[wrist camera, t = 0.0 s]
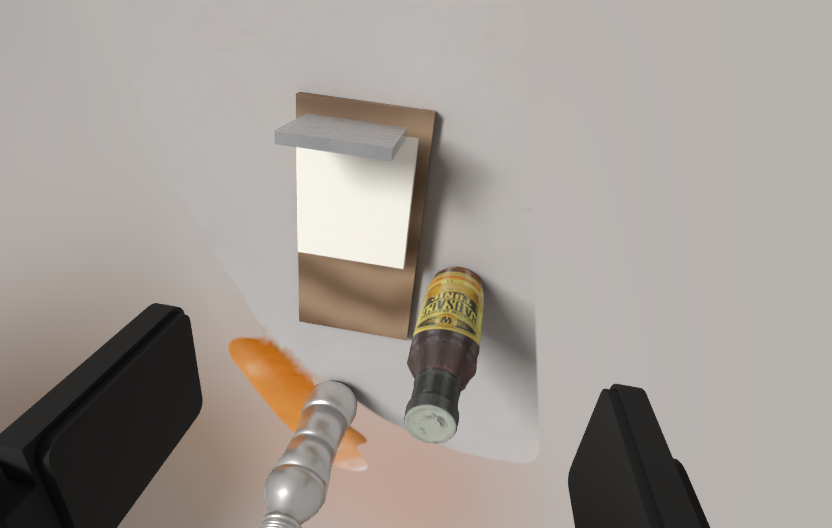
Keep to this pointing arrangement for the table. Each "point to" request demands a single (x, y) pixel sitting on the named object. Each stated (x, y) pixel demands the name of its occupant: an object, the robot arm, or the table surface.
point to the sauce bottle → (444, 353)
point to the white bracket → (352, 187)
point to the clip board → (356, 281)
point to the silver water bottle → (309, 457)
